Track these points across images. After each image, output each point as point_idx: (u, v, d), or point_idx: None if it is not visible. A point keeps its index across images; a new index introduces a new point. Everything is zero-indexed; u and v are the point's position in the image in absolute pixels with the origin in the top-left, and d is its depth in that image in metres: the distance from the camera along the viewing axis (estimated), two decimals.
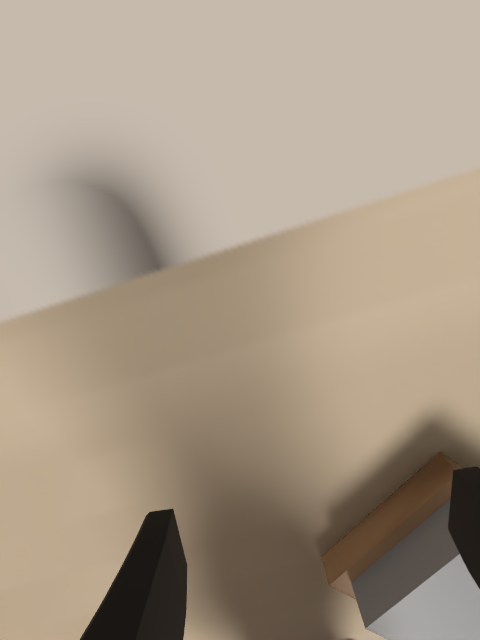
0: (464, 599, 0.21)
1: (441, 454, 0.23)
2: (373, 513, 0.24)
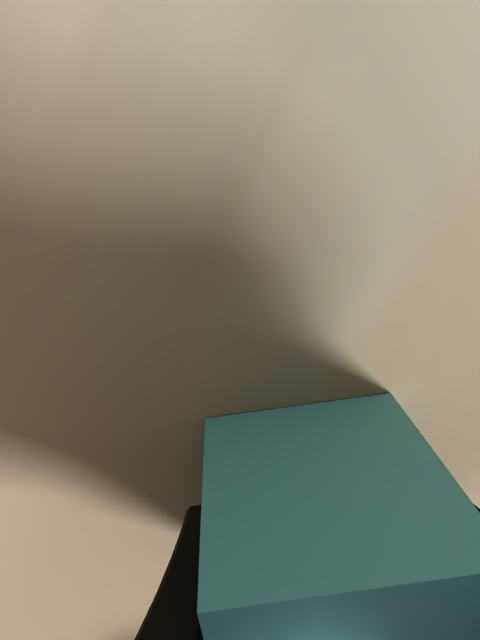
0: None
1: None
2: None
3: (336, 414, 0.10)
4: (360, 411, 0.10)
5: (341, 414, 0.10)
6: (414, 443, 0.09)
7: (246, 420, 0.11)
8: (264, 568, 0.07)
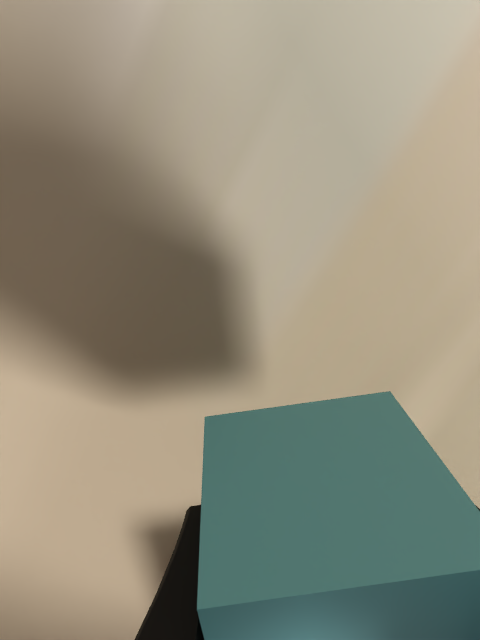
0: None
1: None
2: None
3: (335, 413, 0.10)
4: (360, 409, 0.10)
5: (340, 412, 0.10)
6: (413, 441, 0.09)
7: (246, 418, 0.11)
8: (263, 566, 0.07)
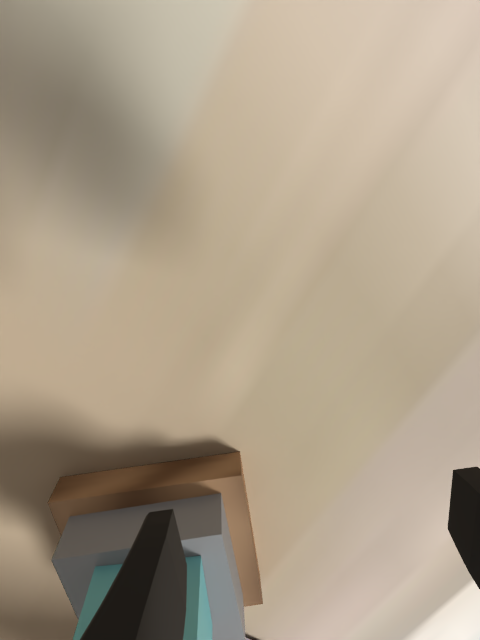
0: None
1: (60, 479, 0.22)
2: None
3: None
4: None
5: None
6: (192, 598, 0.17)
7: (116, 570, 0.19)
8: None
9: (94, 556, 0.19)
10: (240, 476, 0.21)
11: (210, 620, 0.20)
